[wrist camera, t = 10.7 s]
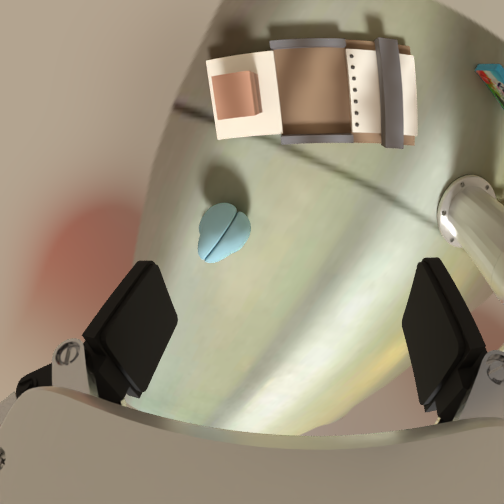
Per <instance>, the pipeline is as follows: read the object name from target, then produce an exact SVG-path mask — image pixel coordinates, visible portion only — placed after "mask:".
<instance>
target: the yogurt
mask: <svg viewBox="0 0 504 504" xmlns="http://www.w3.org/2000/svg"><path fill="white" fill-rule="evenodd" d="M475 72H476V73H477V74H478V75H479V76H480V78H481V79H482V80H483V81H484V83H485V84H486V85H487V87H488V88H489V89H490V91H491V92H492V93H493V95H494V96H495V97H496V99H497V100H498V102H499V103H500V105H501V106H502V108H503V109H504V68H503V67H502V66H501V65H500V64H478V66H477V67H476V69H475Z"/></svg>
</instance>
